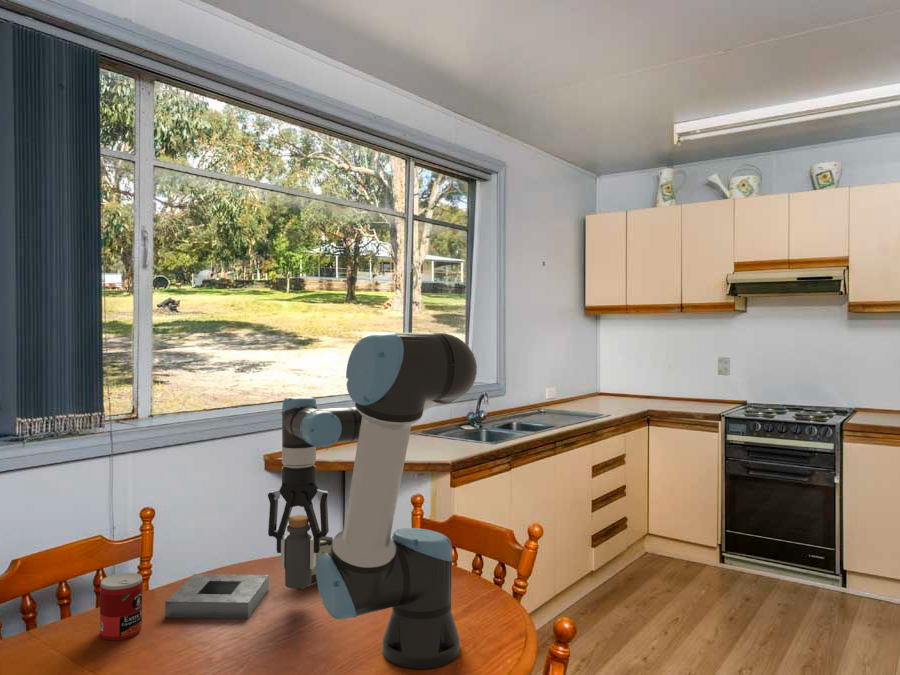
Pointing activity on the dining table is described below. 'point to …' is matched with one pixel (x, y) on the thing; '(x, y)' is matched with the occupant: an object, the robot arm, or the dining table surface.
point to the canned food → (120, 606)
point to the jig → (217, 596)
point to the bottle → (297, 553)
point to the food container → (324, 548)
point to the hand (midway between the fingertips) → (298, 566)
